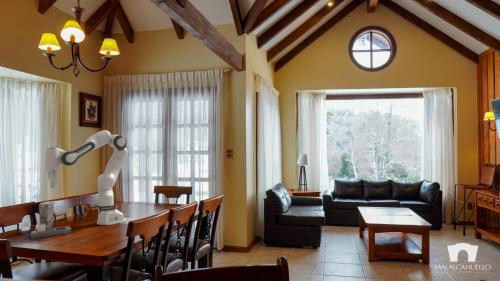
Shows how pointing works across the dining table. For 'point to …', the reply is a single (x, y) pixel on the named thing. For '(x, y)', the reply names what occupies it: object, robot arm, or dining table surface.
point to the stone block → (46, 214)
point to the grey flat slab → (51, 232)
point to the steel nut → (41, 227)
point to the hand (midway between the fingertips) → (52, 188)
